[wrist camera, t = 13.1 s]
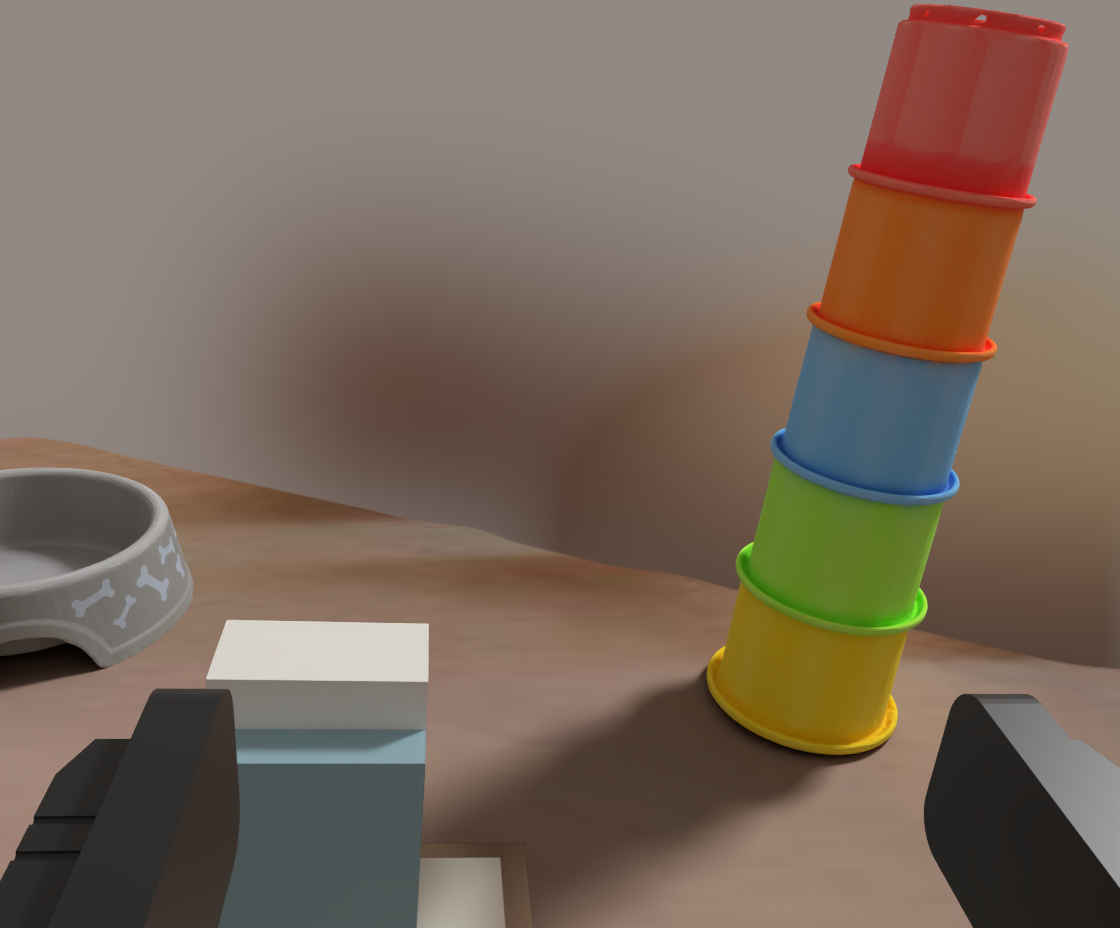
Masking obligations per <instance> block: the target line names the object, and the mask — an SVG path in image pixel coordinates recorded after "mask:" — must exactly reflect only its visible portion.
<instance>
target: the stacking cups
mask: <svg viewBox="0 0 1120 928" xmlns="http://www.w3.org/2000/svg"><path fill="white" fill-rule="evenodd" d="M981 14H983V15H986V21H983V20H976V18H977V17H978V16H980V15H981ZM1039 25H1043V26H1044V27H1039ZM1065 30H1066V27H1065V25H1063V24H1061V23H1058V22H1054V21H1049V20H1045V19H1041V18H1035V17H1030V16H1024V15H1018V14H1012V13H1005V12H999V11H992V10H991V11H990V10H985V9H979V8H969V7H959V6H950V5H932V4H915V5H913V6H912V7H911V9H910V16H909V19H908V20H904V21H901V22H899V24H898V27H897V31H896V35H895V39H894V42H893V46H892V51H891V54H890V57H889V61H888V65H887V69H886V72H885V76H884V80H883V84H882V87H881V91H880V95H879V99H878V103H877V106H876V110H875V114H874V117H873V121H872V125H871V129H870V132H869V136H868V140H867V144H866V147H865V151H864V155H863V158H862V162H861V164H853V165H850V166H849V168H848V172H849V174H850V175H851V176H852V177H854V181H853V184H852V187H851V190H850V194H849V198H848V202H847V206H846V210H845V213H844V217H843V221H842V225H841V229H840V233H839V237H838V240H837V244H836V248H835V252H834V256H833V259H832V263H831V267H830V271H829V275H828V278H827V282H826V286H825V291H824V294H823V298H822V302H817V303H814V304H811V305H810V306H809V308H808V309H807V318H808V319H809V321H810V322H811V323H812V324H813V326H812V330H811V334H810V338H809V341H808V346H807V349H806V353H805V357H804V361H803V364H802V368H801V372H800V376H799V380H798V384H797V388H796V391H795V395H794V399H793V403H792V407H791V411H790V415H789V419H788V423H787V426H786V428H785V429H782V430H780V431H778V432H777V433H776V434H775V435H774V436H773V437H772V439H771V445H770V446H771V451H772V453H773V455H774V457H775V459H774V463H773V467H772V471H771V475H770V480H769V484H768V488H767V492H766V496H765V500H764V504H763V508H762V512H761V516H760V520H759V524H758V528H757V532H756V537H755V540H754V542H753V543H750V544H749V545H747V546H745V547H744V548H743V549H742V550H741V551H740V552H739V554H738V556H737V558H736V571H737V574H738V576H739V579H740V580H741V583H740V587H739V591H738V596H737V600H736V604H735V608H734V612H733V617H732V621H731V625H730V629H729V634H728V638H727V642H726V646H724V647H722V648H721V649H719V650H718V651H717V652H716V653H715V654H714V655H713V657H712V658H711V660H710V662H709V664H708V668H707V682H708V688H709V690H710V692H711V694H712V696H713V697H714V699H715V700H716V702H717V703H718V704H719V706H720V707H721V708H722V709H723V710H724V711H725V712H726V713H727V714H728V715H729V716H730V717H731V718H733V719H734V720H735V721H736V722H738V723H739V724H741V725H742V726H744V727H745V728H747V729H748V730H750V731H752V732H753V733H755V734H757V735H759V736H761V737H763V738H765V739H768V740H770V741H773V742H775V743H778V744H780V745H783V746H786V747H789V748H793V749H796V750H801V751H806V752H811V753H819V754H828V755H846V754H854V753H861V752H864V751H867V750H871V749H873V748H875V747H877V746H879V745H881V744H883V743H884V742H885V741H886V740H887V739H888V738H889V737H890V736H891V735H892V733H893V731H894V729H895V727H896V723H897V717H898V712H897V707H896V704H895V701H894V700H893V698H892V696H891V690H892V687H893V683H894V680H895V676H896V673H897V669H898V665H899V662H900V658H901V655H902V651H903V647H904V644H905V640H906V636H907V633H908V630H910V629H912V628H914V627H915V626H917V625H918V624H919V623H921V622H922V620H923V619H924V617H925V615H926V612H927V600H926V597H925V595H924V593H923V592H922V590H921V589H920V588H919V586H920V582H921V579H922V575H923V572H924V568H925V565H926V561H927V558H928V554H929V551H930V548H931V544H932V541H933V538H934V534H935V530H936V527H937V524H938V520H939V517H940V513H941V510H942V506H943V503H944V501H946V500H948V499H951V498H952V497H953V496H954V495H955V494H956V493H957V491H958V489H959V479H958V477H957V475H956V474H955V472H954V471H953V470H952V469H951V468H952V465H953V461H954V458H955V454H956V451H957V448H958V444H959V441H960V438H961V434H962V431H963V427H964V424H965V421H966V417H967V414H968V411H969V407H970V404H971V401H972V397H973V394H974V390H975V387H976V384H977V380H978V377H979V374H980V370H981V366H982V362H983V361H986V360H989V359H991V358H992V357H994V355H995V353H996V351H997V346H996V344H995V343H994V341H993V340H991V339H989V338H988V337H987V335H988V332H989V329H990V325H991V322H992V318H993V315H994V312H995V308H996V305H997V301H998V298H999V294H1000V291H1001V287H1002V284H1003V280H1004V277H1005V274H1006V270H1007V267H1008V263H1009V260H1010V257H1011V253H1012V250H1013V246H1014V243H1015V240H1016V236H1017V233H1018V230H1019V226H1020V223H1021V220H1022V216H1023V211H1024V209H1026V208H1031V207H1033V206H1034V205H1035V204H1036V202H1037V200H1036V198H1035V197H1034V196H1032V195H1029V194H1026V192H1027V189H1028V186H1029V183H1030V179H1031V175H1032V172H1033V168H1034V165H1035V162H1036V158H1037V155H1038V152H1039V148H1040V145H1041V142H1042V138H1043V135H1044V132H1045V128H1046V125H1047V121H1048V118H1049V115H1050V111H1051V108H1052V105H1053V101H1054V98H1055V94H1056V91H1057V87H1058V84H1059V81H1060V78H1061V74H1062V71H1063V67H1064V64H1065V61H1066V57H1067V53H1068V48H1069V47H1068V44H1067V43H1064V42H1061V39H1062V35H1063V34H1064V32H1065Z"/></svg>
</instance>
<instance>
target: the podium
mask: <svg viewBox="0 0 1120 928" xmlns="http://www.w3.org/2000/svg"><path fill="white" fill-rule="evenodd" d="M417 928H533V924H532V914H531V905H530V895H529V886H528V876H527V866H526V857H525V847H524V843H475V844H421V855H420V874H419V893H418V911H417Z"/></svg>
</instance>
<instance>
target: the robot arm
mask: <svg viewBox="0 0 1120 928" xmlns="http://www.w3.org/2000/svg"><path fill="white" fill-rule="evenodd" d="M239 824H240V796H239V781H238V766H237V752H236V737H235V722H234V708H233V700H232V695H231V692H230V690H229V689H155V690H154V691H153V692H152V693H151V695H150V697H149V699H148V701H147V703H146V705H145V708H144V710H143V712H142V714H141V717H140V719H139V721H138V723H137V726H136V728H135V730H134V732H133V735H132V737H131V739H95V740H94V741H93V742H92V743H90V744H89V745H88V746H87V747H86V748H85V749H84V750H83V751H81V752H80V753H79V754H78V755H77V756H76V757H75V758H74V759H72V760H71V761H70V762H69V763H68V764H67V765H66V766H65V767H63V768H62V769H61V770H60V771H59V772H58V773H57V774H56V775H55V776H54V778H53V780H52V782H51V784H50V786H49V788H48V790H47V792H46V794H45V796H44V798H43V800H42V802H41V803H40V805H39V807H38V809H37V811H36V813H35V815H34V822H33V825H29V827H28V829H27V830H26V832H25V834H24V836H23V838H22V840H21V842H20V844H19V846H18V848H17V850H16V856H15V860H14V861H10V863H9V865H8V867H7V869H6V871H5V873H4V875H3V877H2V879H1V881H0V928H218V925H219V921H220V917H221V913H222V910H223V906H224V902H225V898H226V894H227V890H228V886H229V882H230V878H231V875H232V871H233V867H234V862H235V857H236V851H237V845H238V836H239ZM924 824H925V832H926V836H927V840H928V844H929V847H930V850H931V852H932V855H933V857H934V859H935V861H936V862H937V864H938V866H939V868H940V869H941V871H942V873H943V875H944V877H945V878H946V880H947V882H948V884H949V885H950V887H951V889H952V891H953V893H954V894H955V896H956V898H957V900H958V902H959V903H960V905H961V907H962V909H963V910H964V912H965V914H966V916H967V918H968V919H969V921H970V923H971V925H972V926H973V928H1120V768H1119V767H1118V766H1116V765H1115V764H1113V763H1112V762H1110V761H1109V760H1108V759H1106V758H1105V757H1103V756H1102V755H1101V754H1099V753H1098V752H1096V751H1095V750H1093V749H1092V748H1091V747H1089V746H1088V745H1086V744H1085V743H1084V742H1082V741H1081V740H1071V739H1070V737H1069V736H1068V735H1067V734H1066V733H1065V731H1064V730H1063V729H1062V728H1061V727H1060V725H1059V724H1058V723H1057V722H1056V721H1055V720H1054V718H1053V717H1052V716H1051V715H1050V714H1049V712H1048V711H1047V710H1046V709H1045V708H1044V706H1043V705H1042V704H1041V703H1040V702H1039V701H1038V700H1037V699H1036V698H1034V697H1033V696H1031V695H1028V694H963V695H960V696H959V697H958V698H957V699H956V700H955V701H954V703H953V705H952V707H951V710H950V713H949V716H948V720H947V723H946V727H945V730H944V734H943V737H942V741H941V744H940V748H939V751H938V755H937V759H936V762H935V766H934V769H933V773H932V776H931V780H930V783H929V787H928V790H927V794H926V798H925V804H924Z"/></svg>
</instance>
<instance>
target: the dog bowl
mask: <svg viewBox="0 0 1120 928" xmlns="http://www.w3.org/2000/svg"><path fill="white" fill-rule="evenodd" d="M192 596H193V580H192V576H191V573H190V570H189V568H188V565H187V564H186V562H185V559H184V556H183V553H182V550H181V547H180V544H179V541H178V538H177V535H176V532H175V529H174V526H173V523H172V520H171V517H170V514H169V511H168V509H167V506H166V505H165V503H164V501H163V500H162V499H161V497H160V496H159V495H157V494H156V493H155V492H154V491H153V490H151V489H149V488H148V487H146V486H144V485H142V484H140V483H138V482H136V481H133V480H130V479H128V478H124V477H121V476H117V475H113V474H109V473H104V472H98V471H91V470H83V469H71V468H21V469H7V470H0V656H7V655H15V654H21V653H27V652H33V651H37V650H42V649H46V648H50V647H54V646H57V645H61V644H64V643H67V642H68V643H70V644H73V645H76V646H78V647H80V648H81V649H83V650H84V651H85V652H86V653H87V654H88V655H89V656H90V657H91V658H92V659H93V661H94V662H95V663H96V664H97V665H98V666H99V667H104V668H108V667H111V666H113V665H115V664H117V663H119V662H121V661H124V660H126V659H128V658H130V657H131V656H133V655H135V654H137V653H138V652H140V651H142V650H143V649H145V648H146V647H148V646H149V645H151V644H152V643H154V642H155V641H156V640H158V639H159V638H160V637H162V636H163V635H164V634H165V633H166V632H168V631H169V630H170V629H171V628H172V627H173V626H174V625H175V624H176V623H177V622H178V621H179V619H180V618H181V617H182V616H183V614H184V613H185V612H186V610H187V608H188V607H189V604H190V602H191V599H192Z"/></svg>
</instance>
